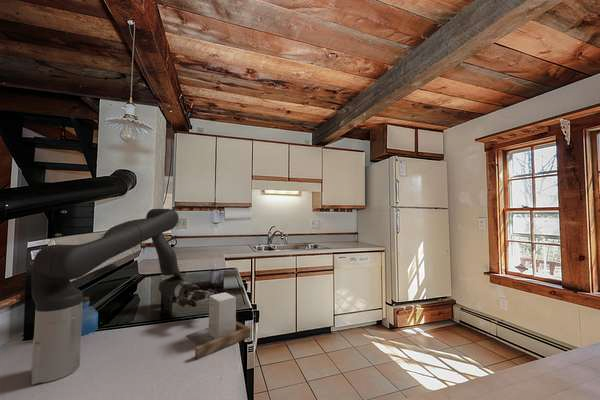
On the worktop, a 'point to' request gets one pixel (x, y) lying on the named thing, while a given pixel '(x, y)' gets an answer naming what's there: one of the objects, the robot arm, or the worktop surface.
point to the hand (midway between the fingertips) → (206, 301)
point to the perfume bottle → (88, 318)
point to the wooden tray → (217, 340)
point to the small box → (222, 315)
